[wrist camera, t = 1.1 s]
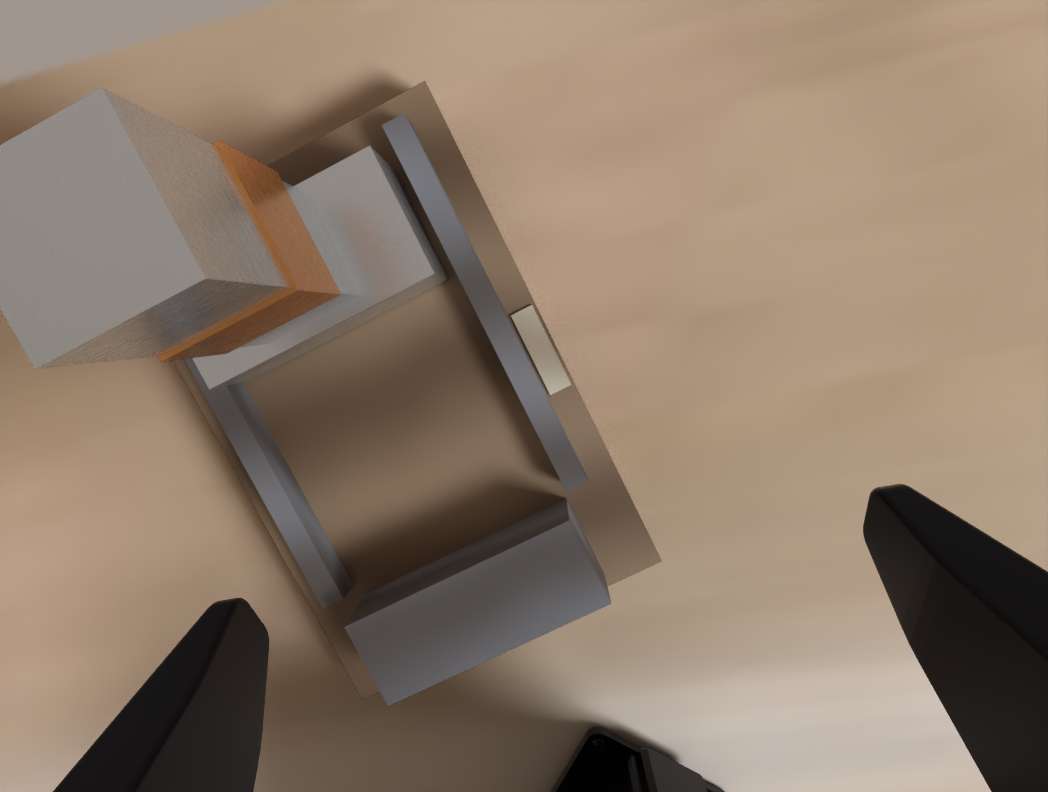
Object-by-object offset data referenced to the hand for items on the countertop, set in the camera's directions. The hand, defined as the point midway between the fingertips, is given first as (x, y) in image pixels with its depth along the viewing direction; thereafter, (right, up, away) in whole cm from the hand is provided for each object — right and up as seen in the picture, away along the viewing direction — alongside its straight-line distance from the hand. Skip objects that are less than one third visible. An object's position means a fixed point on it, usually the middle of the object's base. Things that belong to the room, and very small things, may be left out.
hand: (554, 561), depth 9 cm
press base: (-5, +2, +15) cm, 16 cm away
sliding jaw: (-7, +6, +13) cm, 16 cm away
